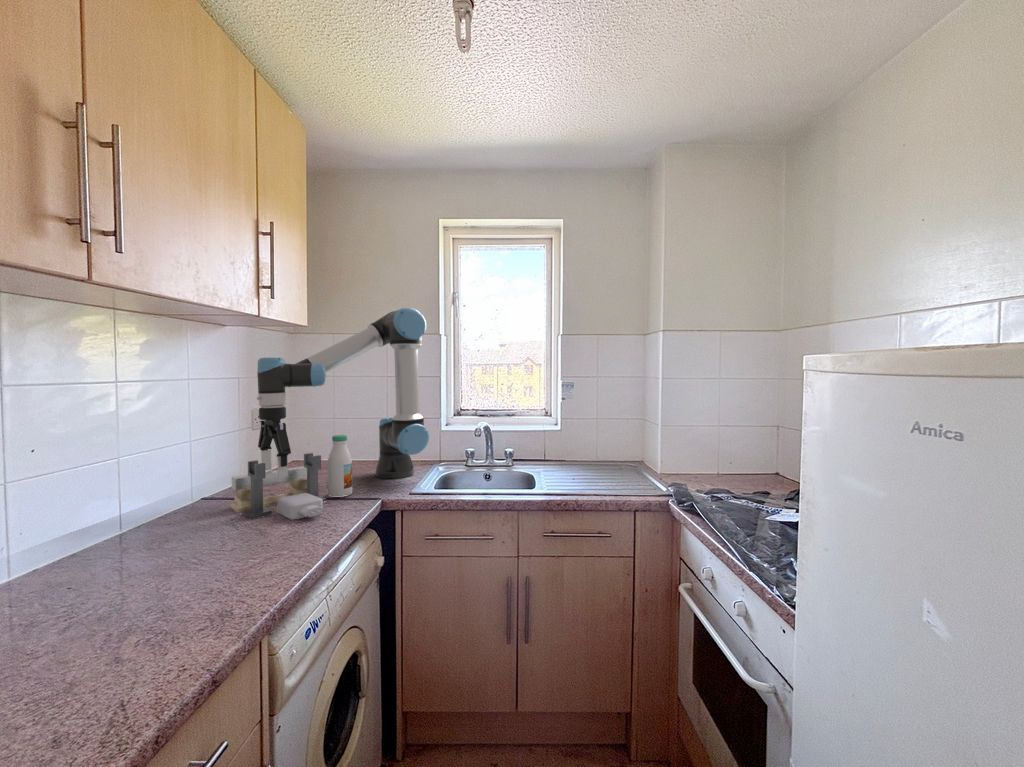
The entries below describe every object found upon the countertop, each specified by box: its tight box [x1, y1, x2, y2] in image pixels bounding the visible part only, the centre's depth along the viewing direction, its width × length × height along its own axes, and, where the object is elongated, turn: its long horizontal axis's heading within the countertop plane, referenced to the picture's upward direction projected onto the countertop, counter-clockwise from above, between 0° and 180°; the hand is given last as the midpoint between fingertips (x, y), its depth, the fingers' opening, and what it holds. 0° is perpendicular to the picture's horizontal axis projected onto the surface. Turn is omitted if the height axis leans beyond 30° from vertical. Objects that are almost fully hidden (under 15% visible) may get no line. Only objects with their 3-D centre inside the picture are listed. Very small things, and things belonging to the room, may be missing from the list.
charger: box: [276, 493, 325, 521], centre depth 127 cm, size 5×9×15 cm
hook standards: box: [241, 452, 328, 520], centre depth 133 cm, size 22×7×15 cm, turn 138°
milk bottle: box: [327, 434, 353, 496], centre depth 147 cm, size 8×8×20 cm
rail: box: [231, 465, 307, 491], centre depth 139 cm, size 22×4×4 cm, turn 138°
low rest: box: [229, 479, 307, 513], centre depth 140 cm, size 22×7×6 cm, turn 138°
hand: (274, 473), depth 140 cm, fingers open, 13 cm apart
